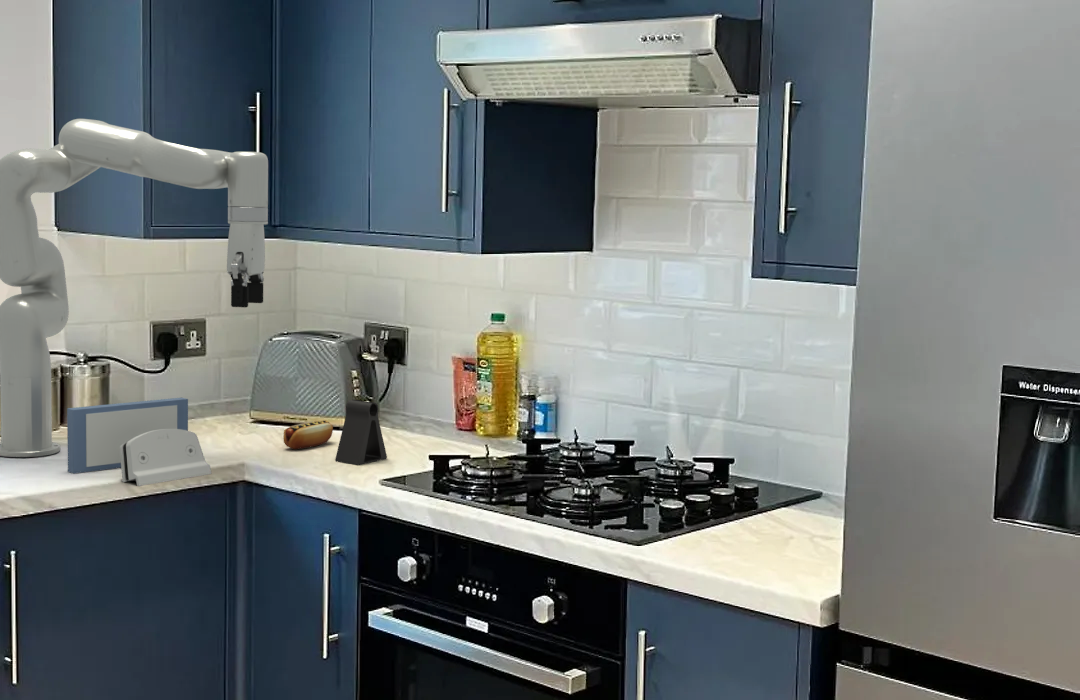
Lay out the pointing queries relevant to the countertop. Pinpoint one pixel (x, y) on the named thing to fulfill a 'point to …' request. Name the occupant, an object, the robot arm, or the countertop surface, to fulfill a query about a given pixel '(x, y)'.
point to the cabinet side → (116, 429)
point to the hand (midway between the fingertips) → (247, 304)
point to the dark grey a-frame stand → (361, 435)
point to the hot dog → (307, 434)
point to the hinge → (162, 457)
